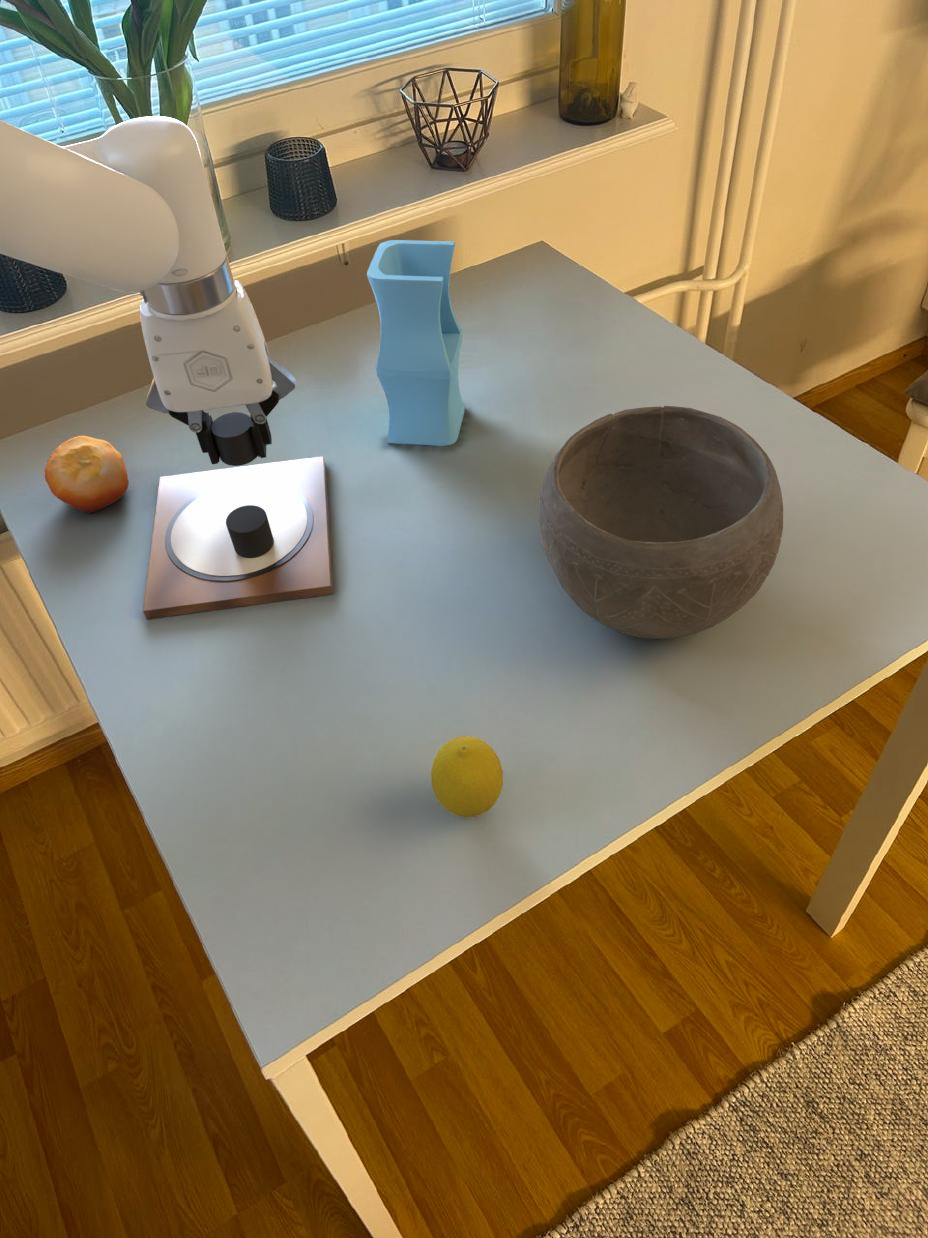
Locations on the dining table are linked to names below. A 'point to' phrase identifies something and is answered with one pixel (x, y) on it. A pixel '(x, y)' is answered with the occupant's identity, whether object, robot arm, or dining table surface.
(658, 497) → the bowl
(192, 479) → the board
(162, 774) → the dining table surface
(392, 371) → the vase
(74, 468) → the fruit
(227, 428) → the dot
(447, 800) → the lemon
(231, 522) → the dot
